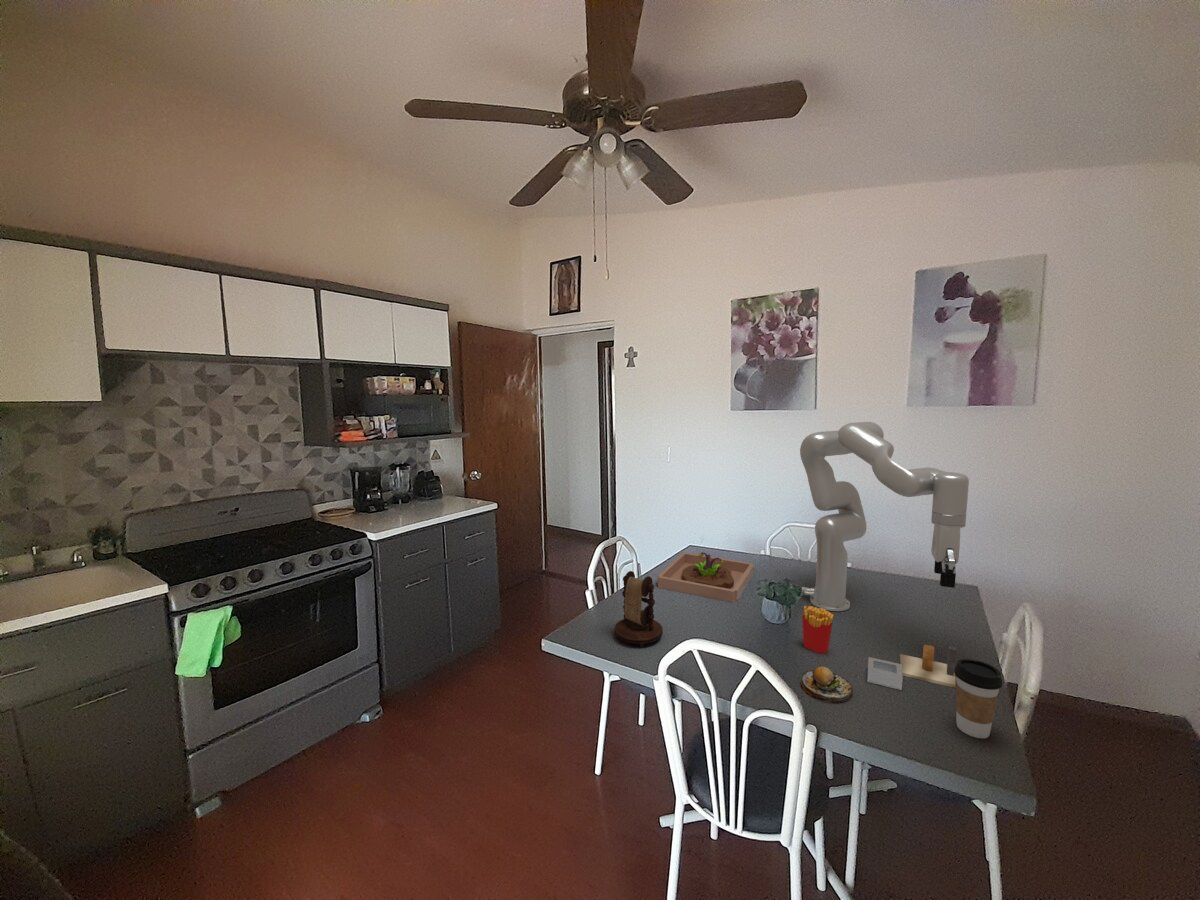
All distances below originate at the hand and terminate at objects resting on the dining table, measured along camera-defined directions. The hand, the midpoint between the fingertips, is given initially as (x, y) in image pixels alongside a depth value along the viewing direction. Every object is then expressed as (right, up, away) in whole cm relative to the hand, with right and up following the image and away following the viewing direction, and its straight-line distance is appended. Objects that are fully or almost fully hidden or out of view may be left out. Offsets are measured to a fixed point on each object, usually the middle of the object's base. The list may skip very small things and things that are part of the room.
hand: (944, 579), depth 135 cm
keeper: (-7, -24, -3) cm, 25 cm away
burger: (-36, -26, -9) cm, 45 cm away
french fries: (-31, -23, +9) cm, 39 cm away
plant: (-52, -16, +59) cm, 80 cm away
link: (-20, -24, -6) cm, 32 cm away
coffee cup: (-11, -27, -24) cm, 38 cm away
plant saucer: (-52, -16, +59) cm, 80 cm away
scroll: (-82, -22, +18) cm, 87 cm away
